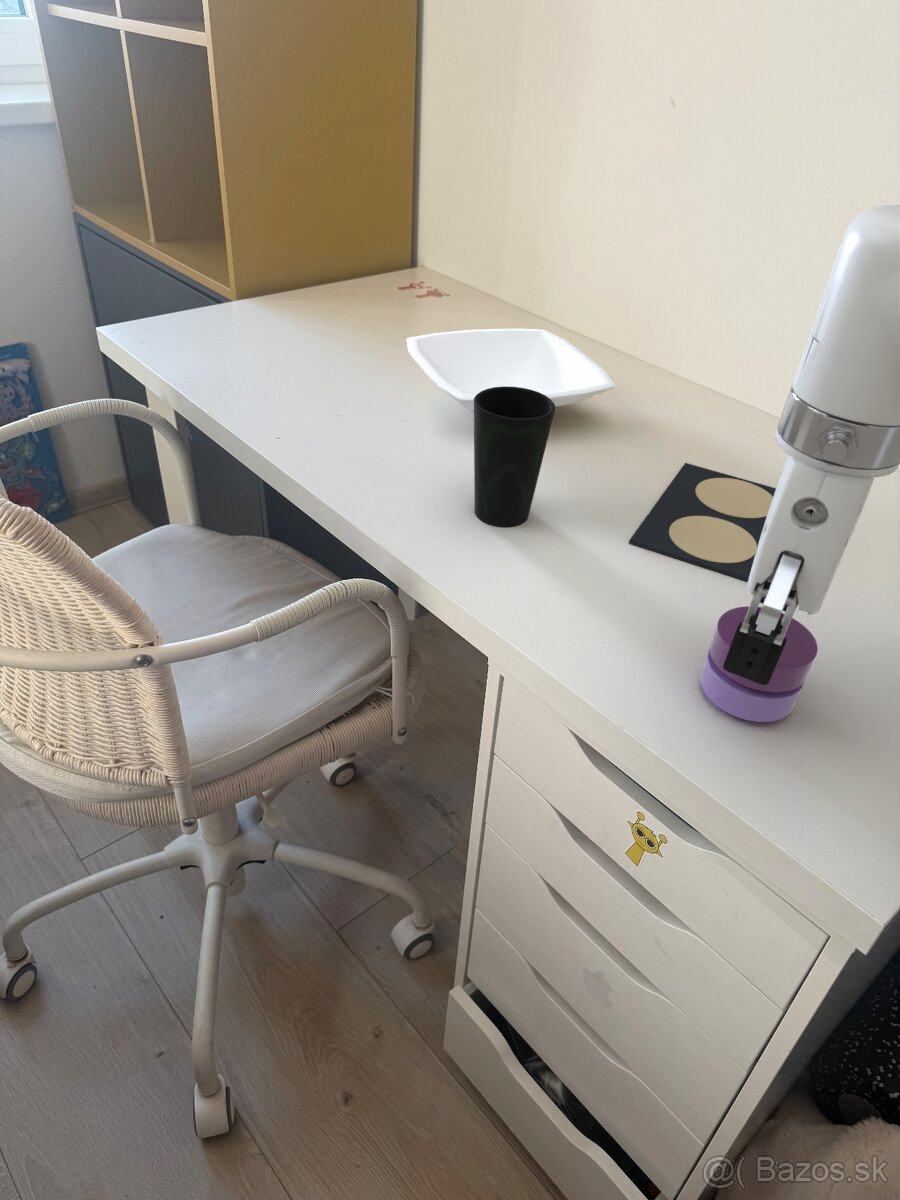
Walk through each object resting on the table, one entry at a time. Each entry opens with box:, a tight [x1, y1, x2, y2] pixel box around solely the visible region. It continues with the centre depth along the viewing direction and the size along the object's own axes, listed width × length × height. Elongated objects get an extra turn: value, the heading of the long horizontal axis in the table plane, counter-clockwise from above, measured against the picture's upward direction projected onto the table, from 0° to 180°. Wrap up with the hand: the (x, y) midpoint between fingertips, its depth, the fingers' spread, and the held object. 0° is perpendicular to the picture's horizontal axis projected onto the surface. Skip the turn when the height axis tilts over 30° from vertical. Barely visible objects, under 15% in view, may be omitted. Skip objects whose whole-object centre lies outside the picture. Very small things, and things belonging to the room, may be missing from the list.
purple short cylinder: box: [709, 605, 819, 692], centre depth 62 cm, size 7×7×3 cm
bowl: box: [406, 328, 616, 412], centre depth 105 cm, size 22×23×6 cm
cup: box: [473, 387, 556, 528], centre depth 81 cm, size 8×8×12 cm
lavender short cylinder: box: [699, 648, 805, 723], centre depth 64 cm, size 7×7×3 cm
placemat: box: [628, 462, 777, 583], centre depth 86 cm, size 14×20×1 cm
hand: (759, 638), depth 62 cm, fingers open, 9 cm apart
